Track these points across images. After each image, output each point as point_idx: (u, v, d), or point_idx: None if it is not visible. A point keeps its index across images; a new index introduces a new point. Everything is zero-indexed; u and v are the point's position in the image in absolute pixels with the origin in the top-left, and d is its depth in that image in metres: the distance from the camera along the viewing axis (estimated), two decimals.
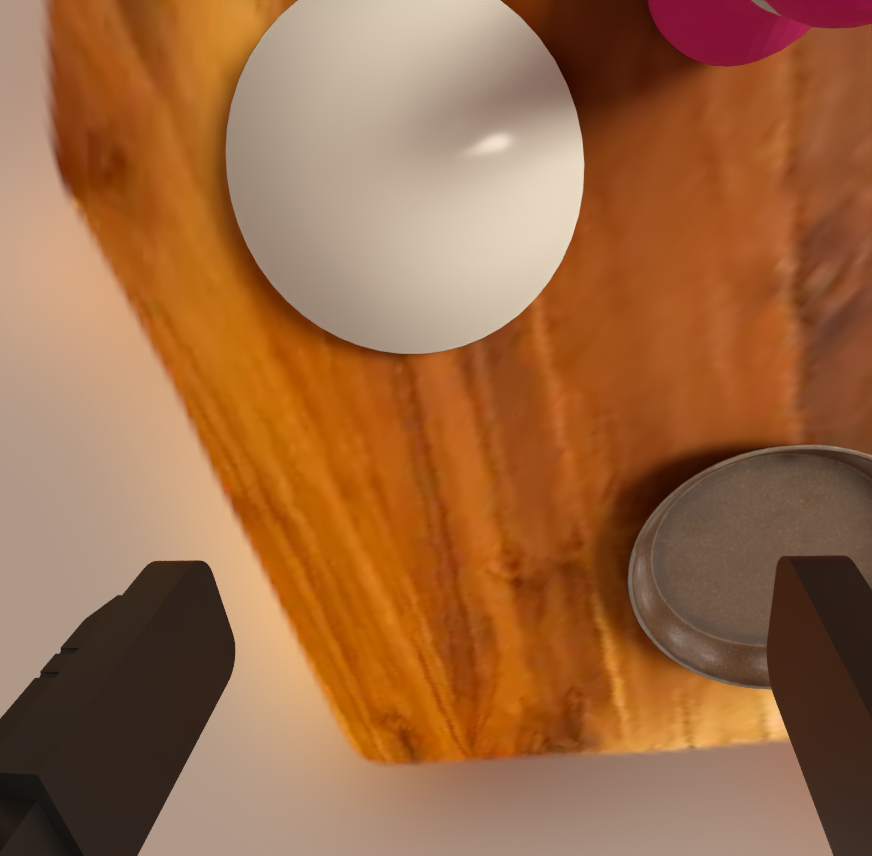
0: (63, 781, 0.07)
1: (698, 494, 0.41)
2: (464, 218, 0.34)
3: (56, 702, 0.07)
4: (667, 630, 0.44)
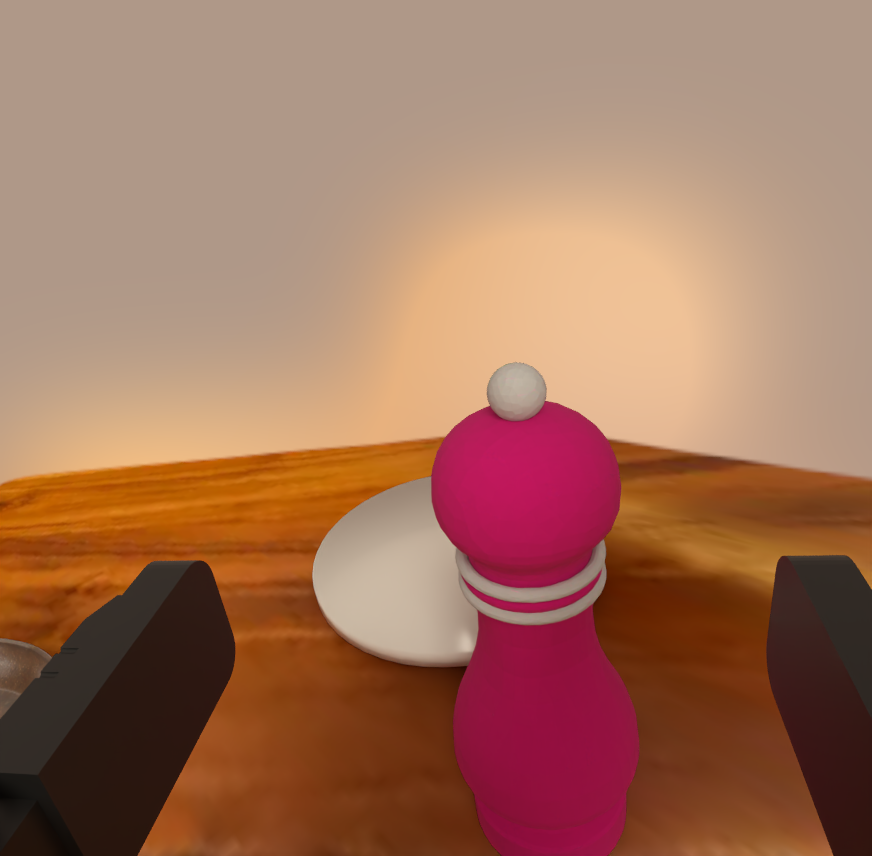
0: (63, 781, 0.07)
1: None
2: (412, 576, 0.40)
3: (56, 702, 0.07)
4: None
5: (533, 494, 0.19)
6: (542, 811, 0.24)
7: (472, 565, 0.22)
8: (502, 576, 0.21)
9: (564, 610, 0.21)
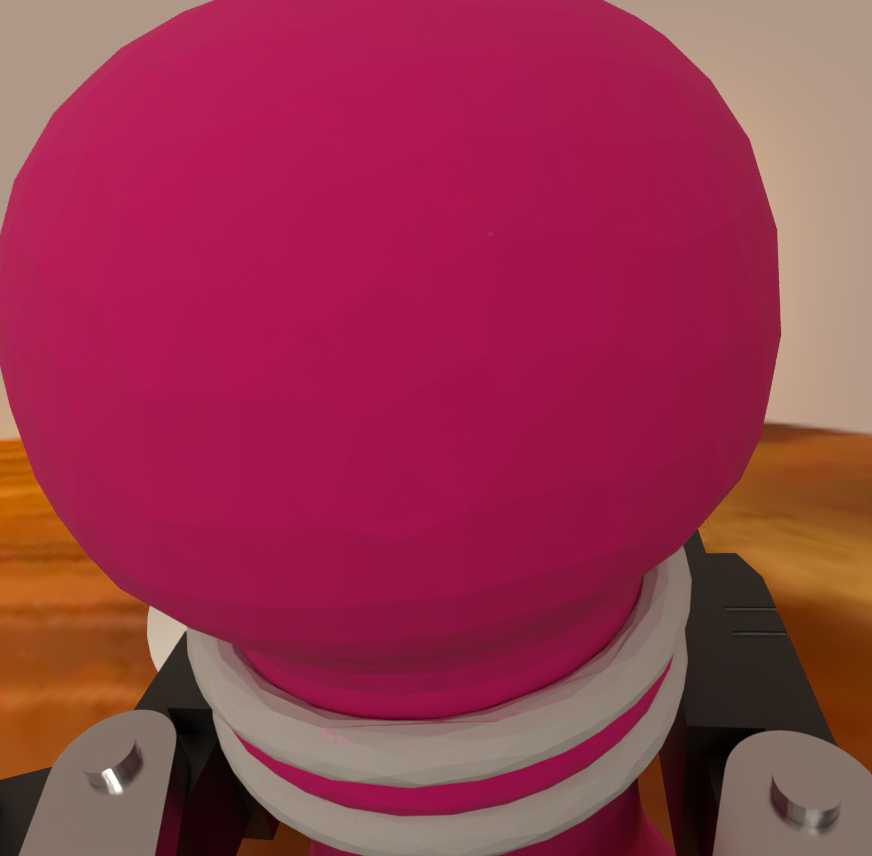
0: None
1: None
2: None
3: None
4: None
5: (336, 224, 0.03)
6: None
7: None
8: (292, 669, 0.05)
9: (542, 806, 0.05)
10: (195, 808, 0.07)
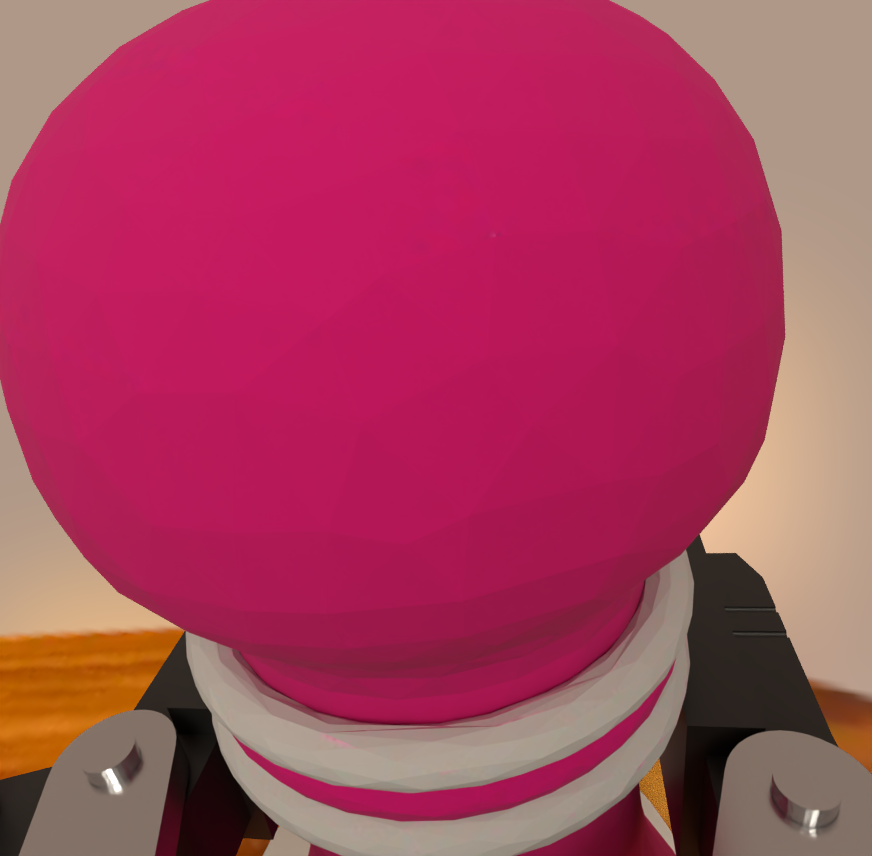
0: None
1: None
2: None
3: None
4: None
5: (336, 225, 0.03)
6: None
7: None
8: (291, 674, 0.05)
9: (543, 812, 0.05)
10: (194, 808, 0.07)
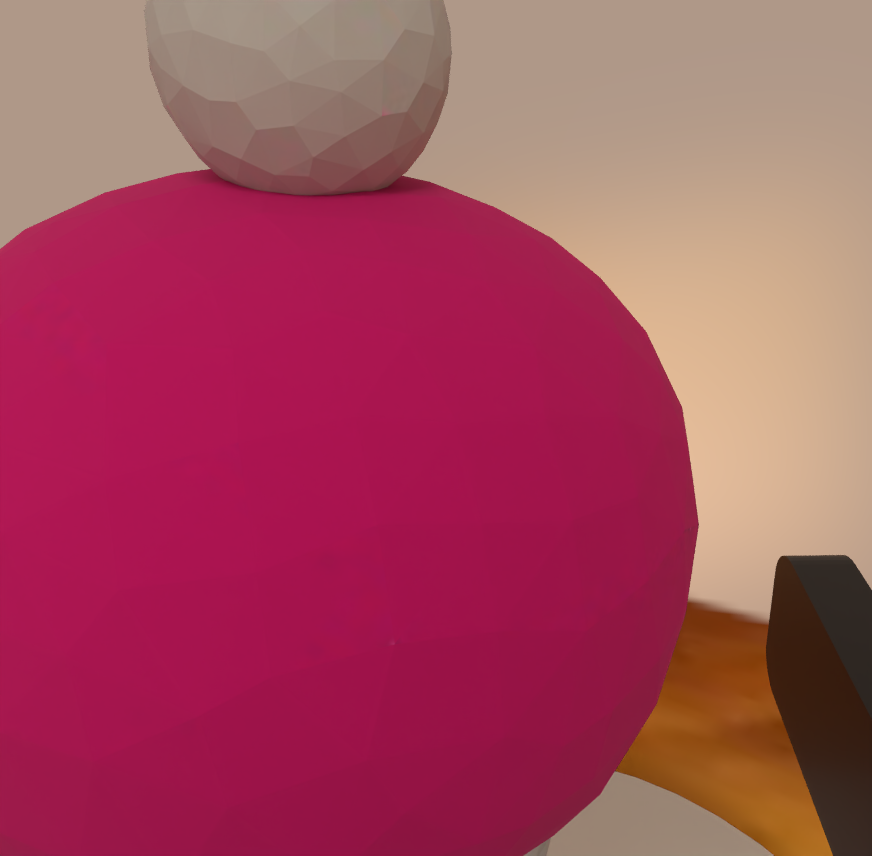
0: None
1: None
2: None
3: None
4: None
5: (229, 617, 0.03)
6: None
7: None
8: None
9: None
10: None
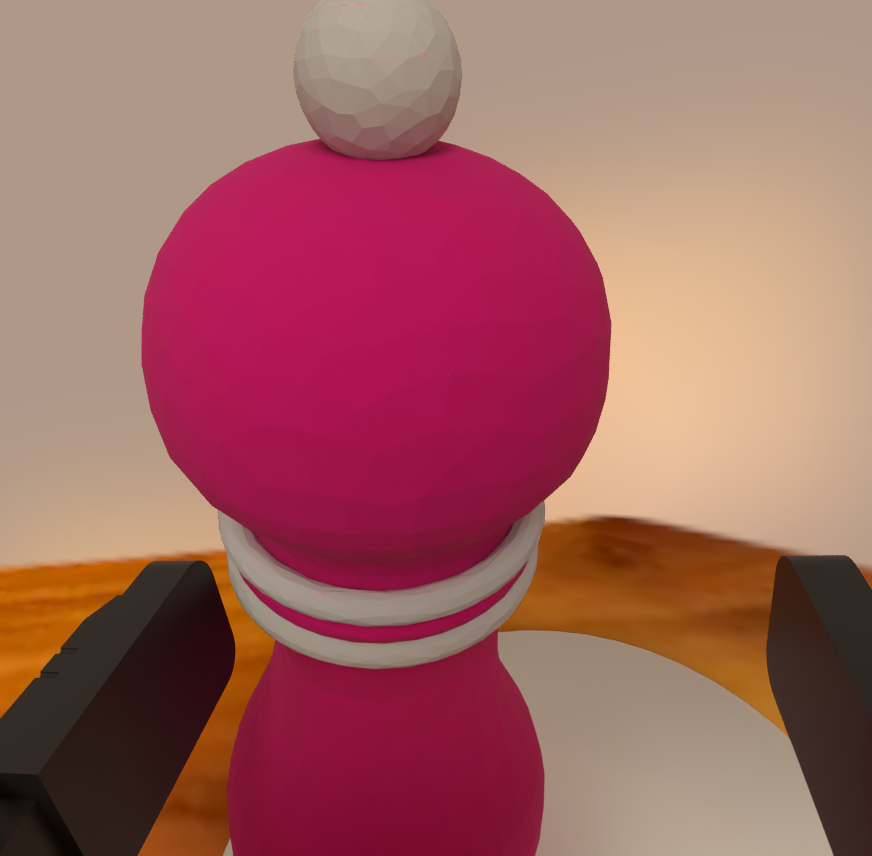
0: (63, 781, 0.07)
1: None
2: None
3: (56, 702, 0.07)
4: None
5: (377, 363, 0.06)
6: None
7: None
8: (298, 556, 0.09)
9: (436, 643, 0.09)
10: None
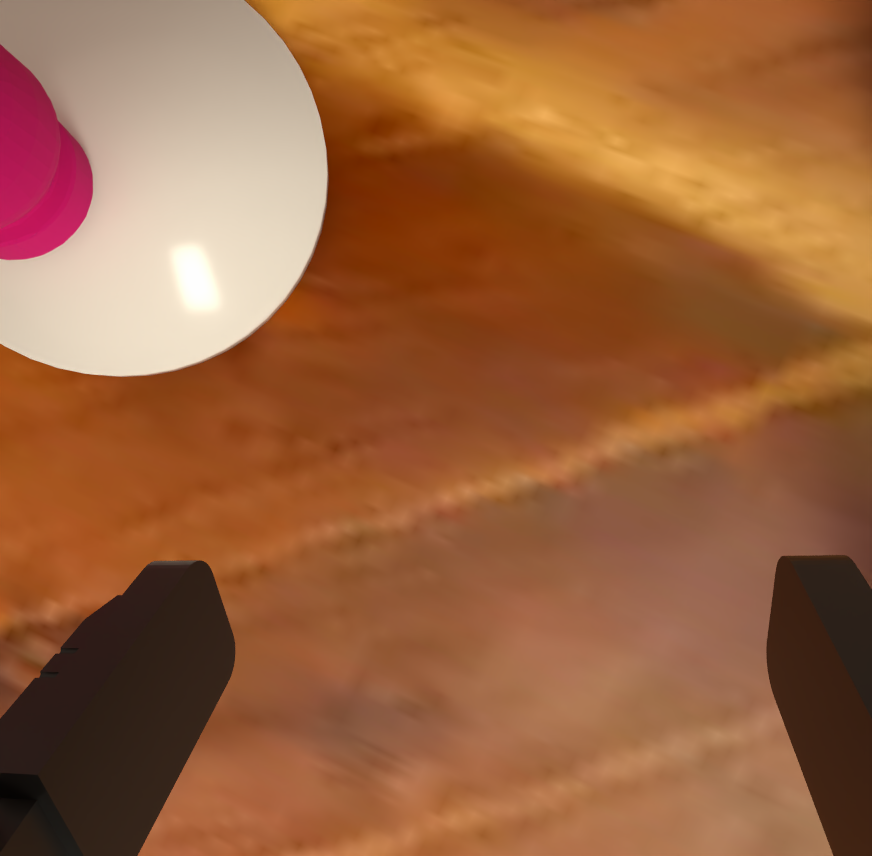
0: (63, 781, 0.07)
1: None
2: (76, 241, 0.29)
3: (56, 702, 0.07)
4: None
5: None
6: None
7: None
8: None
9: None
10: None
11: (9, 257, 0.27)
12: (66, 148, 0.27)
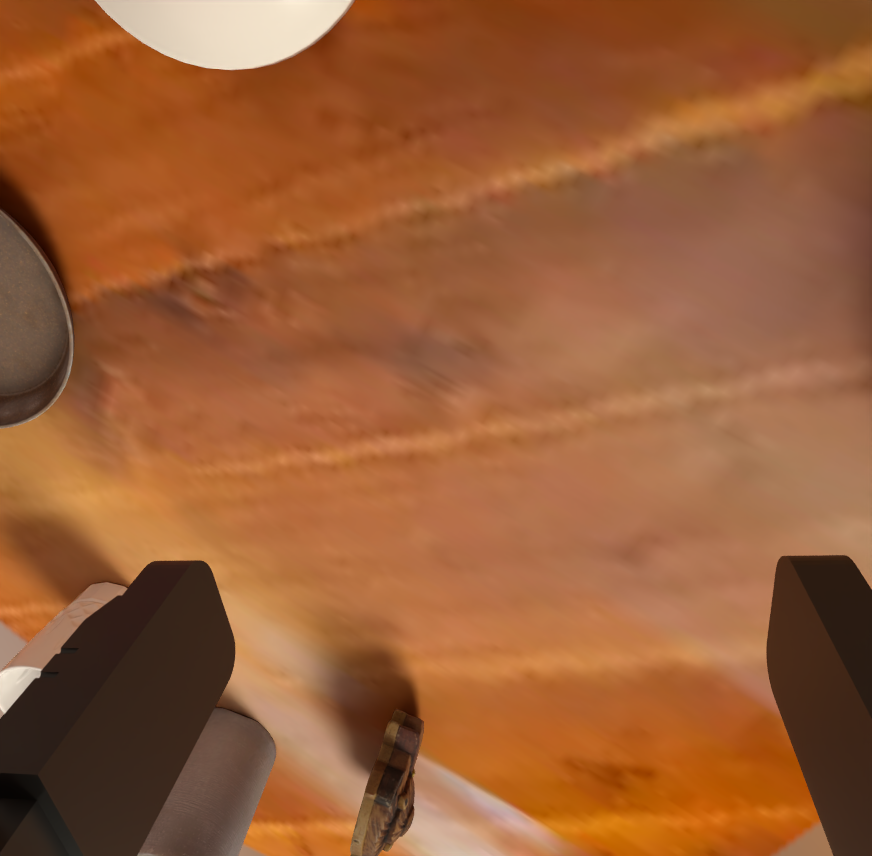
0: (63, 781, 0.07)
1: None
2: None
3: (56, 702, 0.07)
4: None
5: None
6: None
7: None
8: None
9: None
10: None
11: None
12: None
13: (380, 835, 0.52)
